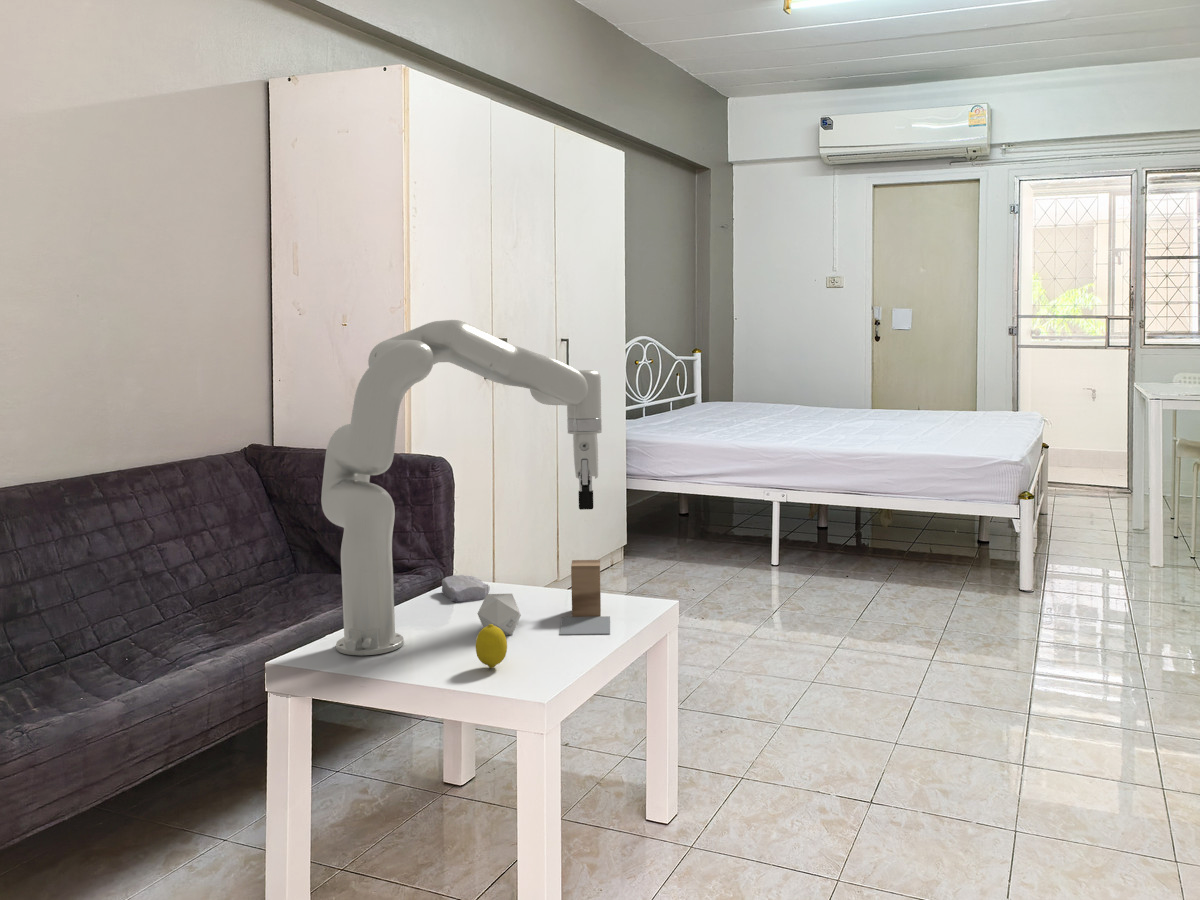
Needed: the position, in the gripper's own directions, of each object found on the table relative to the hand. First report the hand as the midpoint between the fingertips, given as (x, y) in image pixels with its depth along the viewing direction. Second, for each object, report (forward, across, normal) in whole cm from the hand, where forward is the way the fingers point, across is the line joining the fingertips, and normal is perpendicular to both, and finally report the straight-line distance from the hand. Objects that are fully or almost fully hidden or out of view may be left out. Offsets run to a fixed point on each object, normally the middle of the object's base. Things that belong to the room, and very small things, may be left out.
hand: (586, 508), depth 216 cm
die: (+21, -24, +17) cm, 36 cm away
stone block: (+22, +8, +28) cm, 36 cm away
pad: (+21, -20, 0) cm, 29 cm away
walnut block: (+21, -10, 0) cm, 23 cm away
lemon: (+21, -46, +16) cm, 53 cm away
